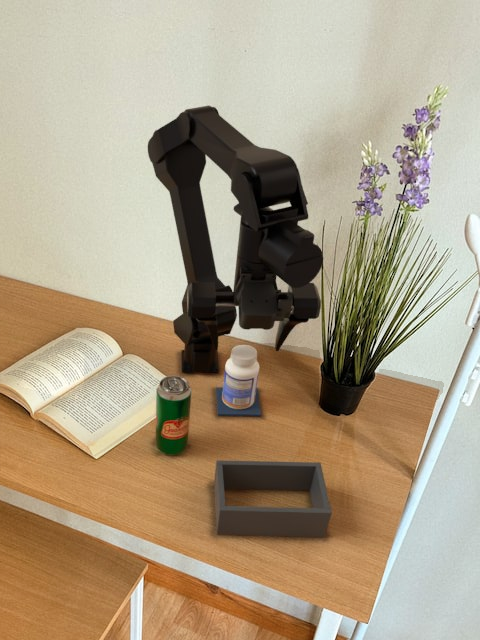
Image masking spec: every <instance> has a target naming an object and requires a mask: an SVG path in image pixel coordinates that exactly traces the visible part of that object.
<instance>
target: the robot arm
mask: <svg viewBox="0 0 480 640" xmlns="http://www.w3.org/2000/svg"><path fill="white" fill-rule="evenodd" d="M147 155H148V158H149V161H150V162H151V164H152V168H153V171H154V174H155V177H156V179H157V180H158V181H159V182H160V183H161V184H162V185H163V187H164V188H165V189H166V190H167V191H168V192H169V197H170V201H171V205H172V212H173V217H174V221H175V222H174V223H175V227H176V232H177V236H178V242H179V246H180V253H181V256H182V263H183V267H184V272H185V276H186V282H187V284H186V288H185V291H184V294H183V297H182V300H181V310H182V313H181V315H179V316H178V317H176V318H175V319H173V321H172V324H173V325H172V326H173V332H174V334H175V335H176V336H177V337H178V338H179V339H180V341H181V342H182V343H183V344H184V349H182V350H181V352H180V353H181V354H180V355H181V356H180V357H181V359H180V360H181V373H182V374H210V375H211V374H212V375H213V374H214V375H215V374H219V373H220V363H219V351H218V350H219V337H222V336H226V335H230V334H231V332H232V331H233V327H234V325H235V323H236V321H237V317H238V326H239V327H240V328H241V329H242V330H247V331H248V330H253V329H254V330H255V329H256V330H262V329H263V330H265V331H267V330H268V331H269V330H272V329H273V328H274V326H275V324H276V322H278V326H277V331H276V335H275V343H274V350H275V352H279V351H280V349H281V347H282V346H283V344H284V343H285V341H286V340H287V338H288V337H289V335H290V333H291V332H292V331H293V330H294V328H295V327H296V326H298V325H300V324H302V323H303V324H305V323H308V322H309V321H310V320H316V319H318V318H319V317H320V314H321V313H320V312H321V308H322V300H321V296H320V293H319V289H318V286H317V285H316V284H315V283H314V282H312V281H314V279H315V278H316V277H317V276H318V274H319V273H320V271H321V269H322V267H323V264H324V259H325V258H324V256H323V251H322V249H321V247H320V246H318V244H316V243H315V242H314V241H315V234H314V233H313V232H312V231H310V230H308V229H305V228H303V227H302V226H300V225H299V222H302V221H306V220H309V211H308V207H307V205H309V202H308V200H307V196H306V194H305V190H304V186H303V184H302V179H301V174H300V171H299V168H298V166H297V163H296V161H295V160H294V159H293V157H292V156H290V155H288V154H286V153H284V152H282V151H280V150H277V149H273V148H267V147H260V146H259V145H256V144H255V143H253V142H252V141H251V140H250V139H249V138H247V137H246V136H245V135H244V134H243V133H241V132H240V131H239V130H238V129H236V128H235V127H234V126H233V125H232V124H230V122H228V121H227V120H226V119H224V118H223V117H222V116H221V115H220V113H219V111H218V109H217V108H216V107H215V106H211V105H208V104H207V105H203V106H197V107H193V108H186V109H184V111H182V112H180V113H179V114H178V115H177V117H176V118H174V119H173V120H171V121H169V122H168V123H166V124H164V125H163V126H161V127H160V128H158V129H155V131H153V133H152V136H151V137H150V138H149V140H148V142H147ZM207 158H209V159H210V160H211V162H213V163H214V164H215V165H216V166H217V167H218V168H219V169H220V170H221V171H223V173H225V174H226V175H227V176H228V178H229V179H230V193H232V194H233V196H234V198H235V199H236V200H237V202H238V203H236V204H235V205H234V206H233V211H234V212H235V213H236V214H238V215H239V216H240V221H239V222H240V223H239V233H238V242H237V250H236V261H235V270H234V273H235V274H234V280H233V281H234V282H233V289H232V287H231V286H230V285H229V284H228V285H225V284H224V283H223V282H222V281H221V279H220V278H219V277H218V274H217V273H218V272H217V268H216V264H215V263H216V262H215V258H214V252H213V248H212V247H213V246H212V240H211V237H210V231H209V225H208V221H207V215H206V210H205V204H204V199H203V194H202V188H201V180H202V178H203V174H204V172H205V168H206V165H207ZM288 203H289V204H290V206H287V207H286V206H285V207H280V208H277V209H274V208H271V207H274V206H279V205H282V204H283V205H284V204H288ZM277 277H278V279H280V280H282V281H283V282H284V283H285V284H287V285H288V286H287V291H282V289H279V288H278V283H277ZM237 307H238V312H237Z"/></svg>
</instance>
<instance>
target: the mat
mask: <svg viewBox="0 0 480 640" xmlns="http://www.w3.org/2000/svg"><path fill="white" fill-rule="evenodd" d="M222 392H223V387H215V396H216V410H217V417H245V418H247V417H249V418H250V417H251V418H262V407H261V401H260V396H259V395H260V394H259V388H258V387H257V388H256V395H255V400H254V403H253V404H252V405H251V406H250V407H248V408H246V409H233V408H230V407H228V406H227V405H226V404H224V402H223V400H222Z"/></svg>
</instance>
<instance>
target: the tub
mask: <svg viewBox="0 0 480 640" xmlns="http://www.w3.org/2000/svg"><path fill="white" fill-rule="evenodd" d="M225 490H255V491H256V490H259V491H298V492H299V491H300V492H301V491H302V492H309V495H310V500H311V504H312V507H284V506H283V507H282V506H281V507H280V506H279V507H278V506H277V507H276V506H238V505H237V506H235V505H226V495H225ZM213 491H214V493H213V494H214V510H215V526H216V535H218V536H219V535H220V536H252V537H253V536H254V537H255V536H256V537H257V536H259V537H294V538H325V537H326V534H327V530H328V526H329V523H330V521H331V516H332V509H331V504H330V499H329V494H328V490H327V487H326V479H325V476H324V471H323V467H322V462H312V461H311V462H309V461H270V460H269V461H268V460H267V461H266V460H265V461H263V460H260V461H259V460H258V461H257V460H256V461H255V460H222V459H221V460H219V459H217V460H216V462H215V472H214V481H213Z"/></svg>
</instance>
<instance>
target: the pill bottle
mask: <svg viewBox="0 0 480 640" xmlns="http://www.w3.org/2000/svg"><path fill="white" fill-rule="evenodd" d="M259 375H260V363H259V361H258V351H257V349H256V348H255V347H253V346H252V345H249V344H237V345H235V346H233V348H232V349H231V352H230V357H229V358H228V359H227V360H226V361H225V366H224V374H223V383H222V388H223V392H222V400H223V402H224V404H226V405H227V406H228V407H230V408H233V409H246V408H248V407H250V406H251V405H252V404H253V403H254V400H255V395H256V388H258V380H259Z"/></svg>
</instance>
